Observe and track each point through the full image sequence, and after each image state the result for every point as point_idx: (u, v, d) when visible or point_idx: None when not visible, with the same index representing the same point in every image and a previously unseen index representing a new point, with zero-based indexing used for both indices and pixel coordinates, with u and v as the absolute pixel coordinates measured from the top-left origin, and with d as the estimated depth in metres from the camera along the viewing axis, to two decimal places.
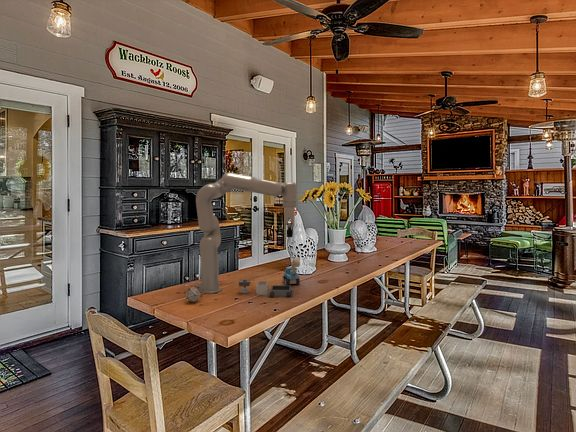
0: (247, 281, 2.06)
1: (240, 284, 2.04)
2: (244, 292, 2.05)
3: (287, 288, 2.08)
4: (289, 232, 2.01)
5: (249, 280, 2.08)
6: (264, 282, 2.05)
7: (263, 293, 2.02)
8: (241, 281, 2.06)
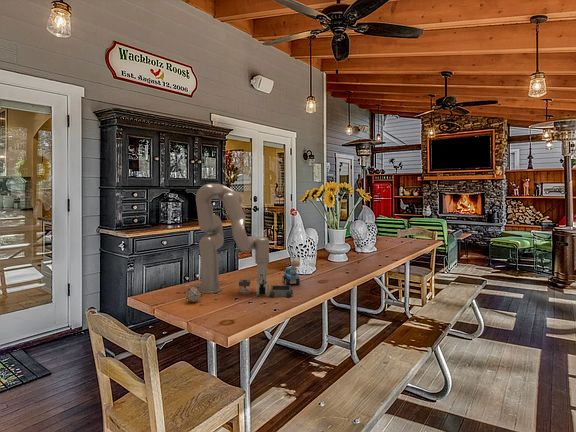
0: (247, 281, 2.06)
1: (240, 284, 2.04)
2: (244, 292, 2.05)
3: (287, 288, 2.08)
4: (261, 290, 2.01)
5: (249, 280, 2.08)
6: None
7: None
8: (241, 281, 2.06)
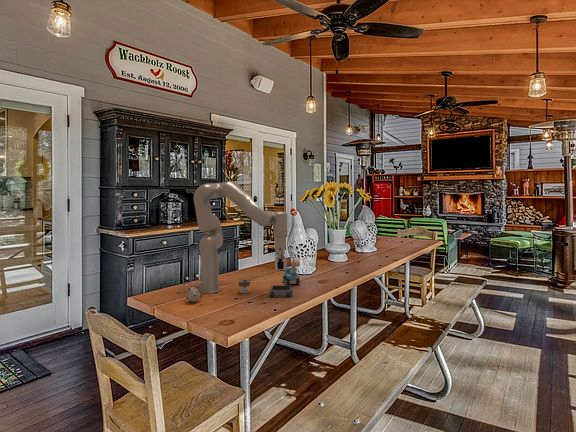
0: (247, 281, 2.06)
1: (240, 284, 2.04)
2: (244, 292, 2.05)
3: (287, 288, 2.08)
4: (280, 264, 1.99)
5: (249, 280, 2.08)
6: None
7: None
8: (241, 281, 2.06)
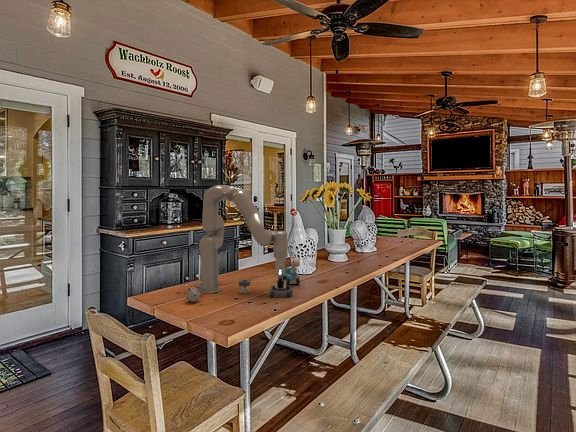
0: (247, 281, 2.06)
1: (240, 284, 2.04)
2: (244, 292, 2.05)
3: (287, 288, 2.08)
4: (280, 283, 1.99)
5: (249, 280, 2.08)
6: None
7: None
8: (241, 281, 2.06)
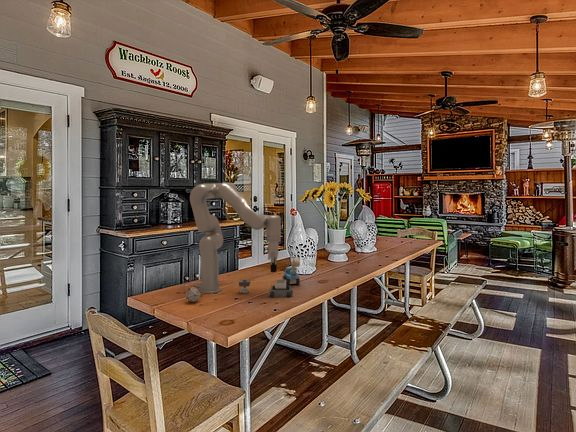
0: (247, 281, 2.06)
1: (240, 284, 2.04)
2: (244, 292, 2.05)
3: (287, 288, 2.08)
4: (273, 267, 2.02)
5: (249, 280, 2.08)
6: (282, 280, 2.04)
7: None
8: (241, 281, 2.06)
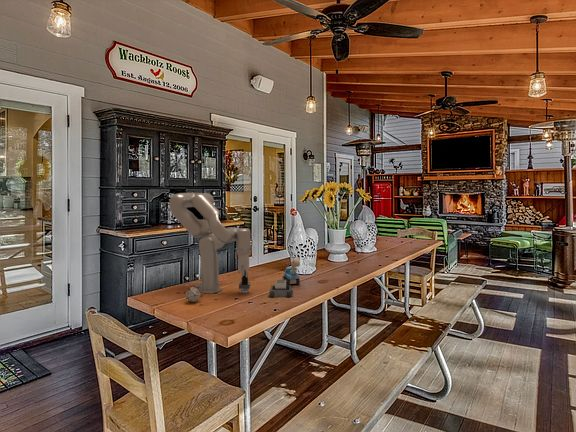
0: None
1: (240, 286, 2.04)
2: (244, 292, 2.05)
3: (287, 288, 2.08)
4: (244, 280, 2.03)
5: (249, 282, 2.08)
6: (282, 280, 2.04)
7: None
8: (241, 283, 2.06)
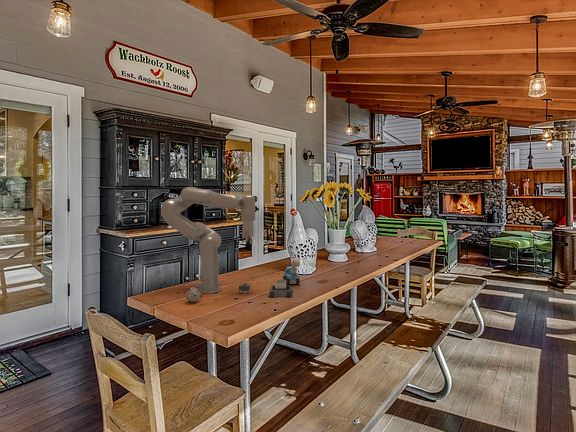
0: (247, 285, 2.06)
1: (240, 288, 2.04)
2: (244, 292, 2.05)
3: (287, 288, 2.08)
4: (248, 246, 2.06)
5: (249, 284, 2.08)
6: (282, 280, 2.04)
7: None
8: (241, 285, 2.06)
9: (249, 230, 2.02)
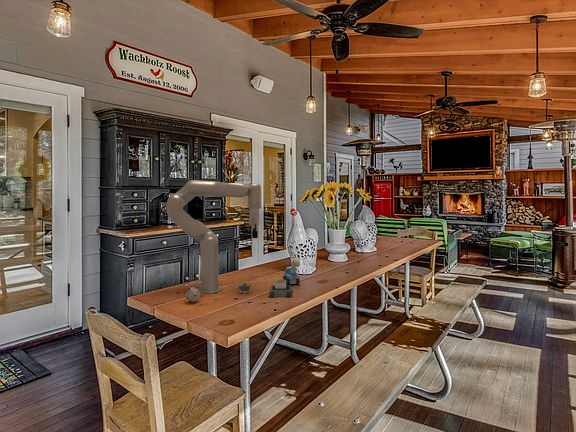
0: (247, 285, 2.06)
1: (240, 288, 2.04)
2: (244, 292, 2.05)
3: (287, 288, 2.08)
4: (254, 233, 2.12)
5: (249, 284, 2.08)
6: (282, 280, 2.04)
7: None
8: (241, 285, 2.06)
9: (256, 217, 2.07)
